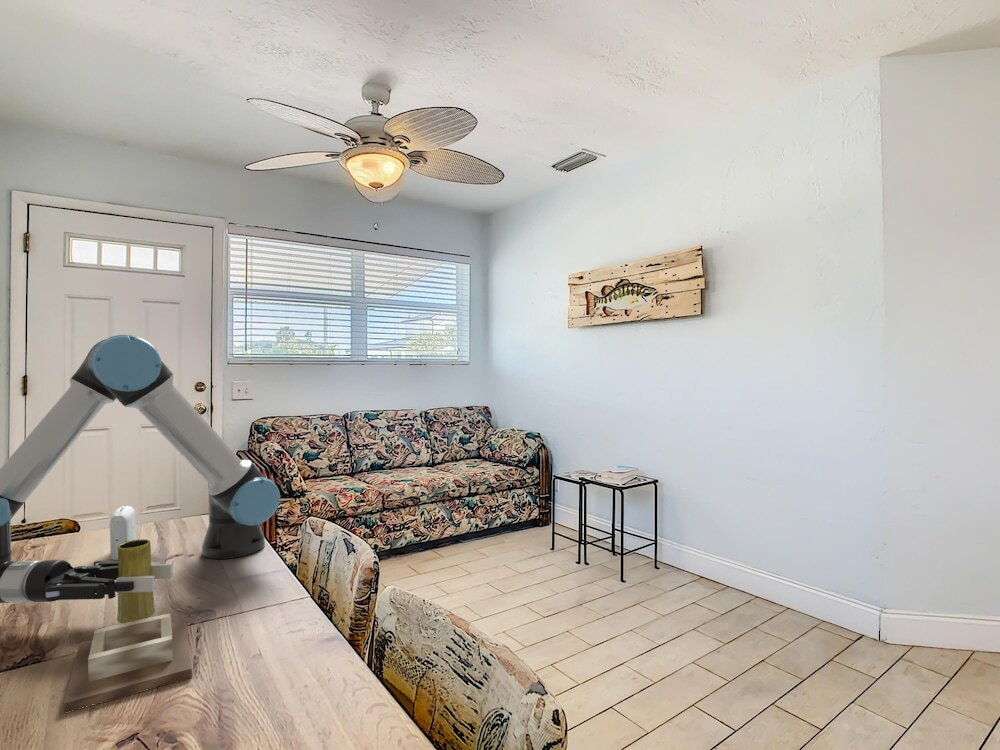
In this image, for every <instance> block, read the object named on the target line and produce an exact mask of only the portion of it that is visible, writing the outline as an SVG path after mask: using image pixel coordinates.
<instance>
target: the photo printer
mask: <svg viewBox="0 0 1000 750" xmlns="http://www.w3.org/2000/svg"><path fill="white" fill-rule="evenodd" d="M136 530H137V529H136V511H135V509H134V508H133V507H132V506H130V505H126V506H125V505H124V506H120V507H118V508H117V509H115V511H114V512H113V514H112V515H111V517H110V520H109V531H110V532H109V535H110V536H109V538H110V540H109V543H110V544H109V545H110V547H109V548H110V560H112V561H118V546H119V545H120V544H122V543H124V542H128V541H132V540H137V535H136V534H137V531H136Z"/></svg>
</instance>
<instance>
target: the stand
mask: <svg viewBox="0 0 1000 750" xmlns="http://www.w3.org/2000/svg"><path fill="white" fill-rule="evenodd" d="M171 615H172V614H171V613H170V612H169V613H165V614H161V615H155V616H150V617H149V618H146V619H141V620H137V621H132V622H128V623H119V624H114V625H111V626H105V627H102V628H97V629H94V632H93V636H92V639H91V640H86V641H82V642H79V645H78V650H77V653H76V656H75V661H74V664H73V667H72V671H71V676H70V680H69V683H68V686H67V690H66V693H65V697H64V701H63V714H66V713H65V712H68V713H70V712H69V711H72V710H75V711H78V710H77V709H79V708H82V707H86V706H89V705H92V704H96V705H98V704H97V703H100V704H102V703H101V702H103V703H106V702H105V701H107V702H110V701H109V700H111V701H114V700H117V698H118V699H120V698H125V697H127V696H131V695H136V694H139V693H142V691H143V692H145V691H144V690H146V691H148V690H147V689H150V688H153V689H155V688H154V687H157V688H159V687H158V686H160V687H163V686H162V685H164V686H166V685H165V684H167V685H171V684H173V682H175V683H177V681H178V682H181V681H180V680H182V681H185V680H188V679H189V680H190V679H192V678H193V674H192V673H193V667H192V661H191V659H192V658H191V651H190V643H189V641H190V640H189V636H188V635H189V633H188V627H187V625H188V623H187V619H186V618H182V619H178V620H174V621H172V616H171ZM170 683H171V684H170ZM150 690H151V689H150ZM138 692H139V693H138ZM89 707H90V706H89ZM86 708H87V707H86ZM82 709H83V708H82ZM79 710H80V709H79ZM72 712H73V711H72Z"/></svg>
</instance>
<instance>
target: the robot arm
mask: <svg viewBox="0 0 1000 750" xmlns="http://www.w3.org/2000/svg"><path fill="white" fill-rule="evenodd" d="M174 375H175V374H174V373H173V372H172V370H170V368H169V367H168V366H167V365H166V364H165V363H164V362H163V361H162V358H161V356H160V354H159V352H158V350H157V349H156V347H155V346H154V345H152V343H150V342H149V341H147V340H146V339H143V338H141V337H139V336H137V335H132V334H131V335H130V334H117V335H112V336H110V337H108V338H105V339H102V340H100V341H98V342H96V344H94V345H93V347H91V349H90V350H89V352H88V353H87V355H86V357H85V358H84V359H83V361H82V363H81V364H80V366H79V367H78V369H77V370H76V371H75V372H74V373H73V374H72V376H71V377H70V378H69V384H70V386H69V388H68V389H67V390H66V391H65V392H64V394H63V395H62V396H61V397H60V398H59V399H58V400H57V402H56V403H55V404H54V405H53V406H52V407H51V409H50V410H49V411H48V412H47V413H46V414H45V415H44V417H43V418H42V419H41V421H40V422H39V423H38V424H37V425H36V426H35V427H34V429H33V430H32V431H31V432H30V433H29V435H28V436H27V437H26V438H25V439H24V441H22V442H21V444H20V445H19V446H18V447H17V449H16V450H15V451H14V452H13V453H12V454H11V455H10V457H9V458H8V459H7V460H6V461H5V462H4V464H3V465H2V466H1V467H0V604H4V603H5V604H10V603H11V604H12V603H20V605H26V604H27V603H43V602H44V603H45V602H46V603H47V602H48V603H51V602H56V601H65V600H66V601H70V600H71V601H72V600H73V601H74V600H77V601H78V600H103V599H105V598H106V595H107V597H108V598H107V599H109V600H111V599H115V598H116V593H117V594H118V593H126V592H153V593H154V591H155V590H156V584H155V583H156V581H155V580H160V579H161V580H166V579H167V580H168V579H172V578H173V577H174V567H173V566H174V565H173V563H151V575H152V576H134V577H118V573H119V572H118V560H112V561H103V560H96V561H94V562H93V563H92V565H91V566H86V565H81V566H75V567H73V566H72V565H71V564H70V563H69V562H68V561H67V560H65V559H54V560H53V559H52V560H51V559H50V560H41V559H40V560H39V559H36V560H16V561H15V560H12V538H11V537H12V530H11V529H12V527H11V526H12V525H11V523H12V519H13V517H14V516H15V515H16V514H17V512H19V510H20V509H21V508H22V506H23V505H24V504H25V502H27V500H28V499H29V497H30V496H31V494H32V493H34V491H35V490H36V489H37V488H38V486H39V485H40V484H41V483H42V482H43V481H44V479H45V478H46V477H47V475H48V474H50V472H51V470H52V469H53V468H54V467H55V466H56V465H57V463H58V462H59V461H60V460H61V458H62V457H63V456H64V455H65V454H66V453H67V452H68V450H69V449H70V447H72V445H74V442H75V441H76V440H77V439H78V438H79V436H80V435H82V433H83V432H84V431H85V430H86V428H87V427H88V425H89V424H91V422H92V421H93V419H95V417H96V416H97V414H98V413H99V412H100V411H101V410H102V408H103V407H104V406H105V405H106V404H107V405H108V404H111V403H114V402H115V400H118V402H119V403H120V404H122V406H123V407H124V408H133V409H137V410H138V411H139V412H140V413H141V414H142V415H143V416H144V418H146V419H147V421H148V422H149V423H151V424H152V426H153V427H154V428H155V429H156V430H157V431H158V432H159V433H160V434H161V435H162V436H163V437H164V438H165V439H166V440H167V441H168V442H169V444H170V445H171V446H172V447H173V448H174V449H175V450H176V451H177V452H178V453H179V454H180V455H181V456H182V457H183V458H184V460H186V461H187V463H188V464H190V465H191V467H192V468H194V470H196V472H197V473H198V474H199V475H200V476H202V478H203V479H204V480H205V481H206V482H207V484H208V485H207V487H208V488H207V489H208V522H209V523H208V527H207V530H206V532H205V535H204V539H203V542H202V546H201V551H202V553H201V554H202V556H203V557H205V558H207V559H214V560H224V559H226V560H227V559H234V557H235V558H240V556H241V557H244V556H248V554H249V555H252V554H254V553H257V552H259V551H260V550H262V549H263V548H264V547H265V544H266V543H265V541H266V540H265V535H264V532H263V530H262V527H261V524H263V523H265V522H267V520H269V519H270V518H272V516H273V515H274V514H275V513H276V512H277V509H278V508H279V505H280V500H281V493H280V490H279V488H278V486H277V484H276V483H275V482H274V481H273V480H271V479H270V478H267V477H266V476H265V475H264V474H263V473H262V472H261V471H260V470H259V469H258V467H257V465H256V463H254V462H253V461H251V460H250V459H241V458H240V457H239V456H238V455H237V454H236V453H235V452H234V451H233V449H231V447H230V446H229V445H228V444H227V443H226V441H224V439H222V437H221V436H220V435H219V434H218V433H217V432H216V430H215V429H214V428H213V427H212V426H211V425H210V424H209V422H207V421H206V419H205V418H204V417H203V416H202V415H201V414H200V412H199V411H197V410H196V409H195V407H194V406H193V405H192V404H191V403H190V402H189V401H188V400H187V399H186V397H185V396H184V395H183V394H182V393H181V392H180V390H178V388H177V387H176V386H175V385H174ZM251 553H252V554H251Z"/></svg>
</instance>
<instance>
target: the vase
mask: <svg viewBox="0 0 1000 750" xmlns="http://www.w3.org/2000/svg"><path fill="white" fill-rule="evenodd" d="M151 548H152V547H151V540H149V539H143V538H142V539H136V540H132V541H128V542H124V543H122V544H120V545H119V546H118V560H117V561H118V572H119V573H118V577H134V576H152V575H151V564H152V551H151V550H152V549H151ZM154 597H155V596H154V591H153V592H126V593H117V617H116V621H117V622H118V623H119V624H123V623H128V622H132V621H137V620H141V619H146V618H150V617H153V615H154V614H155V613H156V612H155V611H156V608H155V601H154V600H155V598H154Z"/></svg>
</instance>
